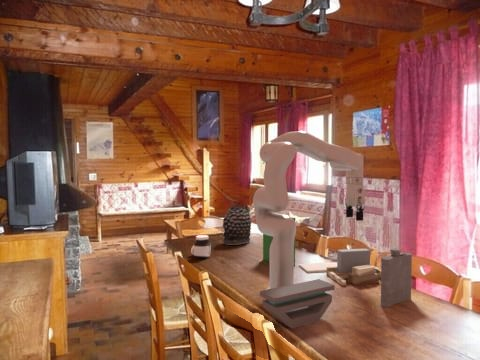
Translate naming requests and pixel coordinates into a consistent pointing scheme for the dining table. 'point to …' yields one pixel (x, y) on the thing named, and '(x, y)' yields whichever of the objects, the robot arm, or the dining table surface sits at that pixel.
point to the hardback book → (266, 246)
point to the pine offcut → (363, 270)
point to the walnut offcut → (363, 279)
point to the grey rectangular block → (352, 259)
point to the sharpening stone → (298, 302)
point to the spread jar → (201, 247)
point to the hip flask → (395, 278)
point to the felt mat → (317, 267)
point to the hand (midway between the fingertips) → (354, 218)
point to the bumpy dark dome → (237, 225)
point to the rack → (344, 274)
